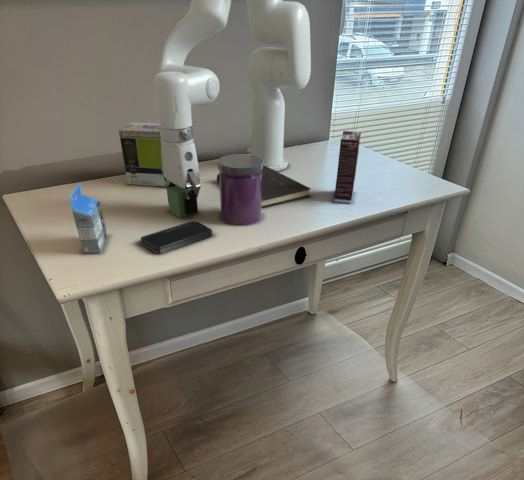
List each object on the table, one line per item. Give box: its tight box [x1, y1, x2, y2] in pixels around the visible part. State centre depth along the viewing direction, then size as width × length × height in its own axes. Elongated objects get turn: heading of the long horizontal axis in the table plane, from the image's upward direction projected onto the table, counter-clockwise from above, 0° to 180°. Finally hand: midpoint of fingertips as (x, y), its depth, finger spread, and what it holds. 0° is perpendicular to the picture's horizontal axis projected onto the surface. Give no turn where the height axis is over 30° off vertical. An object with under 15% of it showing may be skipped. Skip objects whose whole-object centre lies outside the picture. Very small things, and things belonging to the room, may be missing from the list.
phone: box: [140, 220, 213, 254], centre depth 112 cm, size 8×1×15 cm
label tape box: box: [69, 182, 108, 254], centre depth 106 cm, size 9×4×12 cm, turn 5°
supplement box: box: [333, 130, 362, 204], centre depth 129 cm, size 9×5×16 cm, turn 168°
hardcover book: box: [216, 165, 311, 209], centre depth 137 cm, size 16×23×2 cm
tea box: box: [118, 121, 166, 188], centre depth 137 cm, size 15×10×15 cm, turn 80°
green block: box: [166, 186, 197, 219], centre depth 122 cm, size 5×5×6 cm
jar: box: [217, 153, 263, 226], centre depth 118 cm, size 10×10×14 cm
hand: (182, 208), depth 124 cm, fingers open, 7 cm apart
